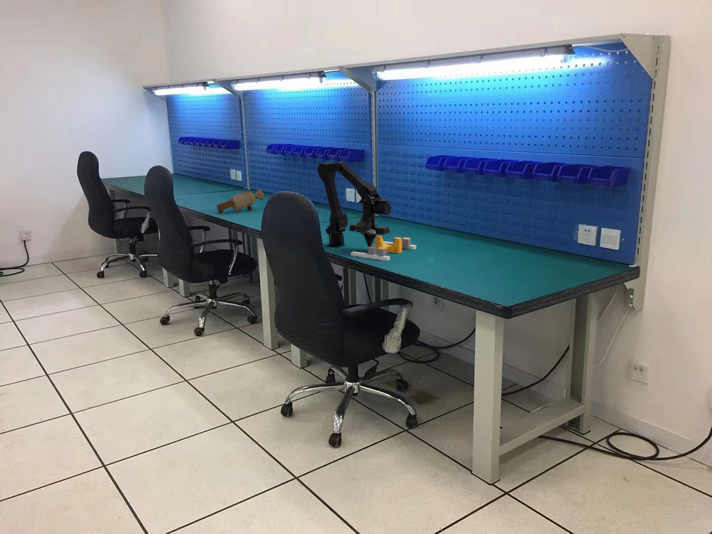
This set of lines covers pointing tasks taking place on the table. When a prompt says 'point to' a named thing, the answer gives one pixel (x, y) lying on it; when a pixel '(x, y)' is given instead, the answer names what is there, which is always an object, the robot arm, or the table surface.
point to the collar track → (383, 250)
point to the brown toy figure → (241, 201)
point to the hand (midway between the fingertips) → (369, 247)
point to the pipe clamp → (393, 248)
